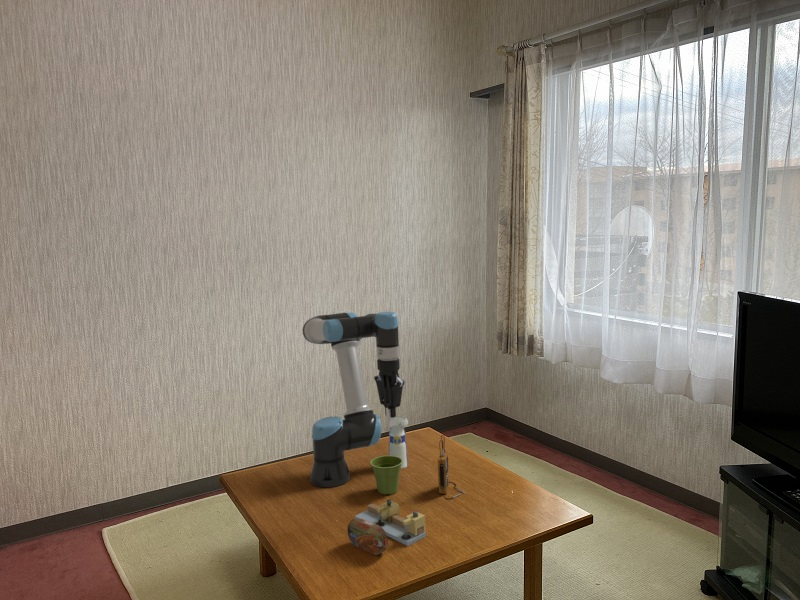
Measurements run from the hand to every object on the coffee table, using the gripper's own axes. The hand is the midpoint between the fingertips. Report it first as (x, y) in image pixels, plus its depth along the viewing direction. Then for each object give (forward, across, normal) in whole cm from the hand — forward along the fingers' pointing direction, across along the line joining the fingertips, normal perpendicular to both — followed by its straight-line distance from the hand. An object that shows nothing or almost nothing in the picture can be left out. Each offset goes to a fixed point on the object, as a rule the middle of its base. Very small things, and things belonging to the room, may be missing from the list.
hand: (391, 425), depth 211 cm
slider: (+27, +8, -11) cm, 30 cm away
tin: (+29, +15, -25) cm, 41 cm away
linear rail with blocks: (+28, +10, -12) cm, 33 cm away
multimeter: (+29, +8, +22) cm, 37 cm away
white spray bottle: (+29, -24, +25) cm, 45 cm away
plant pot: (+29, -10, +6) cm, 31 cm away
